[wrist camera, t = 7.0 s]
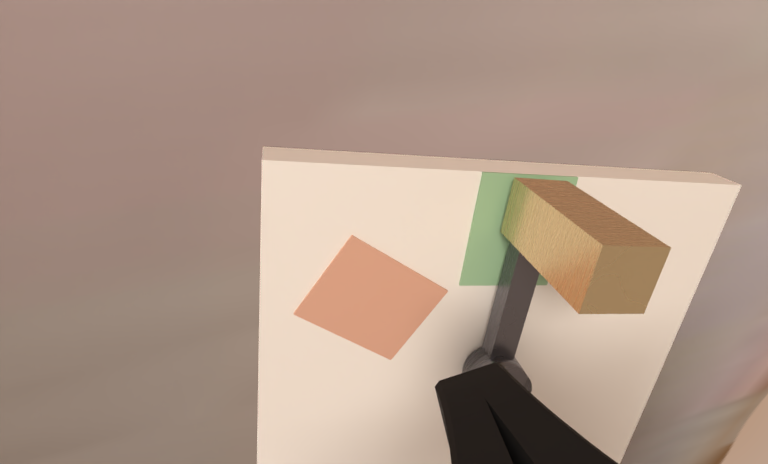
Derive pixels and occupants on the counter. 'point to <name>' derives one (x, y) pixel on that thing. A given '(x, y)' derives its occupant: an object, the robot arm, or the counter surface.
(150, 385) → the counter surface
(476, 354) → the wooden handled crank
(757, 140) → the counter surface
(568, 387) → the board
